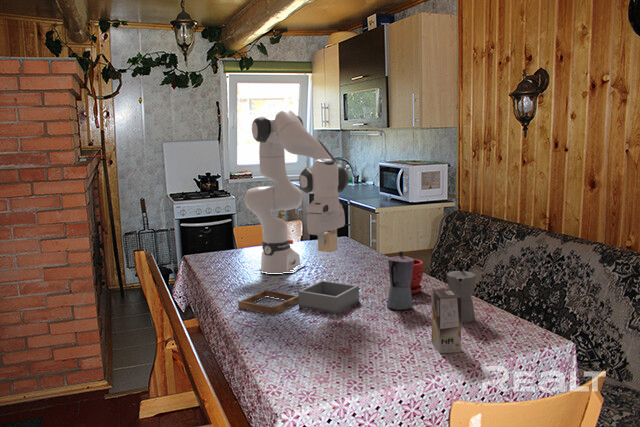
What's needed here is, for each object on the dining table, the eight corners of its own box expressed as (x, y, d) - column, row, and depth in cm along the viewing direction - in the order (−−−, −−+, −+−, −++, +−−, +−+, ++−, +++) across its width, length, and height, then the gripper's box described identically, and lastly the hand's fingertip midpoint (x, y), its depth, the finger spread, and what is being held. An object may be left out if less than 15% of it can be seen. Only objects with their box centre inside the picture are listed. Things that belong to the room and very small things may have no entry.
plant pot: (429, 290, 210) (429, 260, 209) (410, 298, 201) (410, 267, 199) (401, 284, 219) (401, 255, 217) (382, 292, 210) (382, 262, 208)
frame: (265, 296, 208) (265, 289, 208) (299, 302, 200) (299, 295, 199) (238, 308, 195) (238, 301, 195) (273, 315, 186) (273, 308, 186)
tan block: (325, 248, 197) (325, 232, 196) (337, 249, 194) (337, 233, 193) (318, 250, 193) (317, 234, 192) (330, 252, 190) (329, 235, 189)
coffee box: (461, 352, 151) (462, 297, 149) (439, 353, 151) (440, 298, 148) (451, 340, 160) (451, 288, 158) (430, 341, 160) (430, 289, 157)
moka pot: (418, 302, 196) (418, 248, 193) (407, 315, 182) (406, 258, 179) (393, 299, 200) (393, 246, 197) (380, 312, 186) (379, 256, 183)
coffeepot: (474, 326, 171) (475, 271, 168) (444, 324, 173) (444, 269, 171) (476, 310, 185) (477, 259, 182) (448, 309, 188) (448, 258, 185)
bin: (322, 295, 207) (322, 280, 206) (359, 301, 199) (358, 285, 198) (298, 307, 194) (298, 291, 193) (336, 314, 185) (336, 297, 185)
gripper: (334, 200, 201) (334, 237, 203) (303, 208, 184) (304, 247, 186) (348, 201, 198) (349, 238, 200) (318, 209, 181) (319, 249, 183)
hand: (327, 243), depth 193 cm, fingers closed on tan block, 5 cm apart
